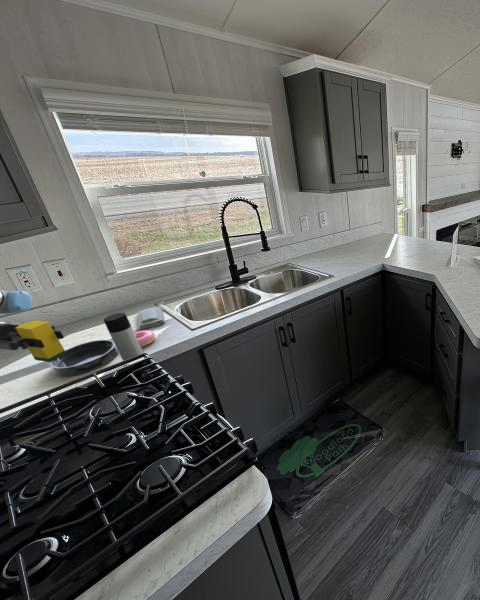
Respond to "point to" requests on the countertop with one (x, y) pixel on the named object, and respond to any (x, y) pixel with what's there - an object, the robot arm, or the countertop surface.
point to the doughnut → (145, 337)
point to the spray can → (123, 335)
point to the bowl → (84, 357)
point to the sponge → (48, 338)
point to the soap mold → (150, 317)
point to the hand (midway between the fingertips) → (51, 339)
